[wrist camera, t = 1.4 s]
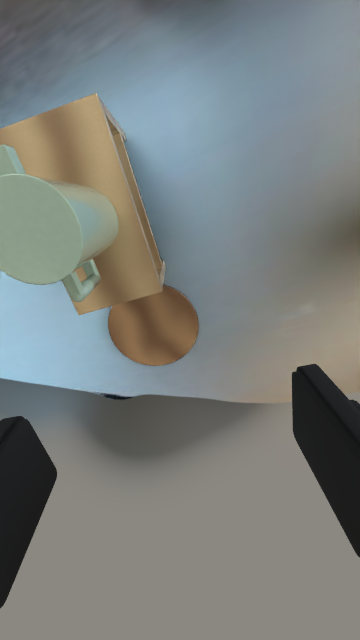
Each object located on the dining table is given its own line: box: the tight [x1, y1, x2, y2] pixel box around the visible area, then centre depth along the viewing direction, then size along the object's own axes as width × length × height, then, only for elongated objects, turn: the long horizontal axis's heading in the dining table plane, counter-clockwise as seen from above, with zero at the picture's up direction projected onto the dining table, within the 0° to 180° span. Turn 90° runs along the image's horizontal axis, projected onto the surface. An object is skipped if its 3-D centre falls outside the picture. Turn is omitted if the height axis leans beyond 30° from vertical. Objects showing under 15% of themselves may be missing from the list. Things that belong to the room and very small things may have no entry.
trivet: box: [108, 285, 199, 366], centre depth 44 cm, size 15×15×1 cm
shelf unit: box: [0, 93, 166, 315], centre depth 31 cm, size 10×18×12 cm, turn 16°
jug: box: [0, 144, 119, 302], centre depth 21 cm, size 10×6×11 cm, turn 16°
